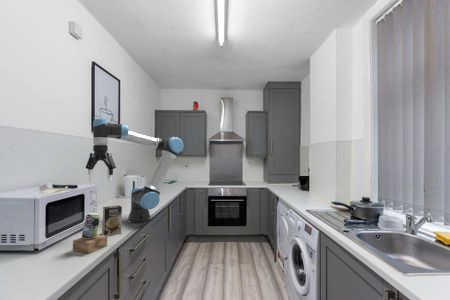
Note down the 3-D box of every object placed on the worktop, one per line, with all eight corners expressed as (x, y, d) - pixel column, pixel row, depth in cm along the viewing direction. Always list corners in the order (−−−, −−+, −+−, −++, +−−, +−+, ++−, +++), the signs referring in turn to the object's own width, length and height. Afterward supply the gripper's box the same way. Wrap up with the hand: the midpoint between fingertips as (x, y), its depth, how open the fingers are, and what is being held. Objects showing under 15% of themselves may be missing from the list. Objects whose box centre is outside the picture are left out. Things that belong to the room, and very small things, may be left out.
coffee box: (103, 237, 121) (104, 208, 122) (101, 234, 126) (102, 206, 126) (121, 234, 127) (122, 206, 127) (118, 231, 132) (119, 204, 132)
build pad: (92, 242, 114) (92, 241, 114) (113, 246, 109) (113, 245, 109) (65, 253, 100) (65, 252, 100) (87, 258, 96) (87, 256, 96)
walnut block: (92, 243, 111) (92, 233, 111) (106, 246, 108) (107, 235, 108) (72, 251, 102) (73, 240, 102) (88, 254, 98) (88, 243, 99)
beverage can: (80, 238, 104) (81, 213, 105) (97, 234, 110) (98, 210, 110) (83, 241, 100) (84, 215, 101) (101, 237, 105) (101, 212, 106)
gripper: (78, 145, 129) (78, 180, 129) (112, 143, 122) (112, 181, 122) (89, 145, 136) (89, 179, 136) (122, 144, 129) (122, 180, 129)
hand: (100, 180), depth 129 cm, fingers open, 13 cm apart
